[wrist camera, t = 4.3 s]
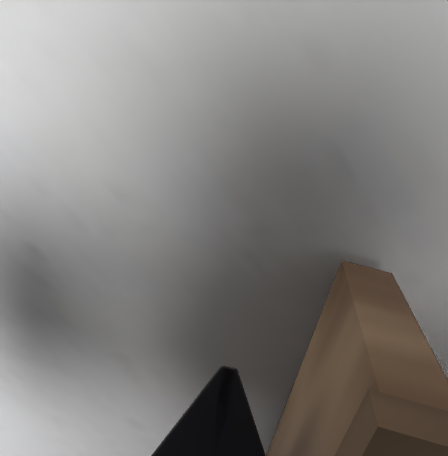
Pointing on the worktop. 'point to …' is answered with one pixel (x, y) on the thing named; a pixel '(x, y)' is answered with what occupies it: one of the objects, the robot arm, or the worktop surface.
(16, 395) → the worktop surface
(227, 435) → the robot arm
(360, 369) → the gate
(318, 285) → the worktop surface
